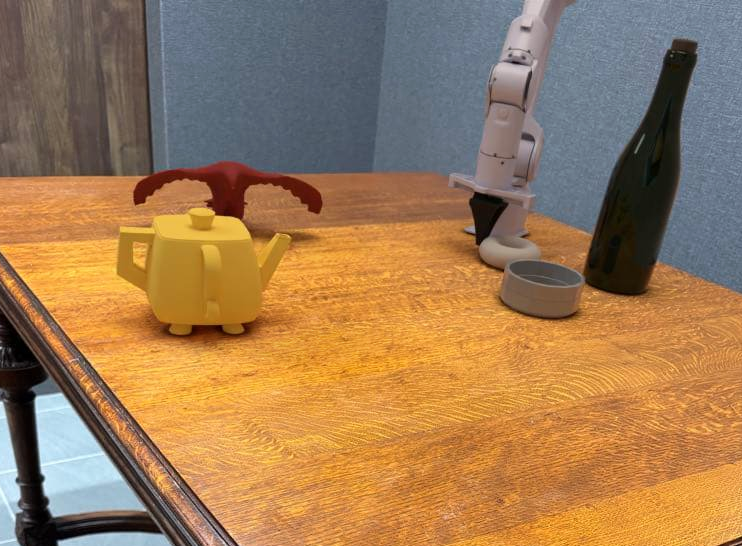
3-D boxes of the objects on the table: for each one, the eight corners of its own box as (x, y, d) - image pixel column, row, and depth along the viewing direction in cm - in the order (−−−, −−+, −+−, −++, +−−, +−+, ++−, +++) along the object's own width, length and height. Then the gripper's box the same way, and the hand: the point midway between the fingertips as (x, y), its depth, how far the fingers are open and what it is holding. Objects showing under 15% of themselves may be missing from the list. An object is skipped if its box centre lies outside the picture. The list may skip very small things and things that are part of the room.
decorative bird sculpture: (136, 251, 127) (132, 195, 112) (133, 196, 128) (129, 135, 114) (313, 257, 134) (331, 205, 120) (309, 205, 135) (325, 149, 121)
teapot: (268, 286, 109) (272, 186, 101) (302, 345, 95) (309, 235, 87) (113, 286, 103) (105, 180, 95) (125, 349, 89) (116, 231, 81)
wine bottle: (568, 278, 126) (632, 31, 107) (602, 267, 133) (669, 33, 113) (626, 300, 121) (705, 45, 101) (659, 288, 128) (739, 46, 108)
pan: (521, 283, 122) (527, 253, 119) (589, 306, 117) (597, 276, 115) (484, 301, 114) (491, 269, 111) (556, 326, 110) (564, 293, 107)
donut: (539, 279, 125) (539, 258, 133) (544, 257, 123) (544, 237, 131) (475, 268, 126) (479, 248, 133) (479, 246, 123) (483, 227, 131)
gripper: (444, 145, 123) (430, 236, 131) (528, 168, 117) (508, 261, 125) (468, 141, 128) (453, 229, 136) (549, 162, 122) (529, 253, 130)
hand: (481, 244), depth 131 cm, fingers closed
